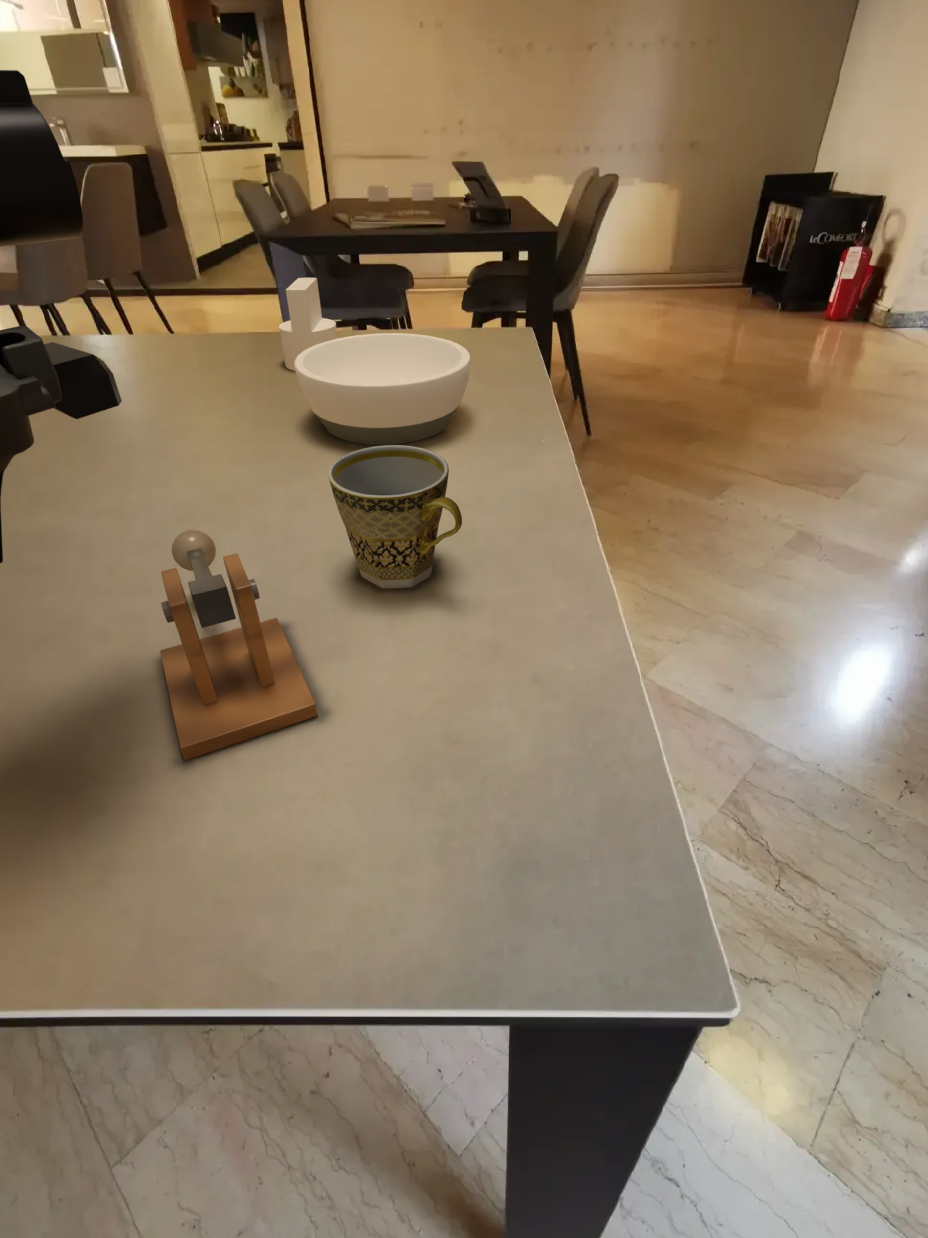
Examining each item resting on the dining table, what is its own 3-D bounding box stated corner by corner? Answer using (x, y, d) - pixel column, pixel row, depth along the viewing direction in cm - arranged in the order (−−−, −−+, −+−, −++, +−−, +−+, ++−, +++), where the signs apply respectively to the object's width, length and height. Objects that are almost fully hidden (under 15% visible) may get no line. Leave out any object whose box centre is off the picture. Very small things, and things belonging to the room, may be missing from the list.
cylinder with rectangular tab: (335, 371, 107) (325, 290, 99) (279, 371, 107) (265, 290, 100) (344, 355, 114) (335, 277, 107) (292, 355, 114) (279, 277, 107)
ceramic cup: (320, 571, 61) (303, 471, 55) (398, 530, 67) (391, 435, 61) (420, 630, 55) (414, 522, 48) (497, 578, 60) (501, 476, 54)
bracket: (164, 661, 52) (123, 554, 46) (279, 628, 55) (255, 524, 49) (185, 760, 44) (139, 647, 38) (318, 715, 47) (295, 604, 41)
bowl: (497, 406, 94) (499, 344, 89) (417, 468, 79) (413, 397, 73) (365, 382, 103) (359, 325, 97) (268, 434, 87) (255, 369, 82)
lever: (177, 569, 57) (165, 530, 55) (218, 559, 58) (207, 521, 57) (194, 638, 43) (179, 590, 42) (247, 623, 45) (233, 576, 43)
